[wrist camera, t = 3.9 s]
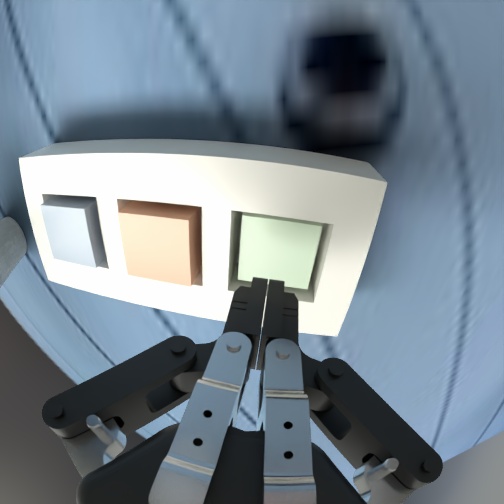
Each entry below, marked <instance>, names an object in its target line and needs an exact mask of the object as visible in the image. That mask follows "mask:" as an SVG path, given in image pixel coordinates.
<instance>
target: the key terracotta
mask: <svg viewBox="0 0 504 504" xmlns="http://www.w3.org/2000/svg"><path fill="white" fill-rule="evenodd" d="M201 217H202V207H199V206H190V205H181V204H171V203H161V202H150V201H139V200H132V201H131V202H130V203H129V204H127V205H126V206H125V207H124V208H122V209H121V210H120V211H119V212H118V219H119V226H120V233H121V240H122V246H123V252H124V257H125V263H126V268H127V273H128V275H131V276H136V277H141V278H146V279H152V280H157V281H162V282H168V283H173V284H179V285H184V286H190V287H191V286H192V284H193V282H194V280H195V278H196V276H197V274H198V272H199V270H200V268H201V266H202V226H201Z"/></svg>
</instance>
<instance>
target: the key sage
mask: <svg viewBox="0 0 504 504" xmlns="http://www.w3.org/2000/svg"><path fill="white" fill-rule="evenodd" d="M321 228H322V224H321V223H320V222H314V221H307V220H300V219H293V218H286V217H279V216H272V215H265V214H257V213H249V212H243V214H242V224H241V238H240V252H239V267H238V280H244V281H251V282H252V279H253V277H258V278H266V279H268V284H269V279H273V280H281V281H285V285H284V286H286V287H293V288H301V289H308V285H309V281H310V277H311V273H312V268H313V264H314V260H315V256H316V251H317V247H318V242H319V238H320V233H321Z"/></svg>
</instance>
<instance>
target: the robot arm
mask: <svg viewBox="0 0 504 504" xmlns="http://www.w3.org/2000/svg"><path fill="white" fill-rule="evenodd" d="M267 284H268V279H266V278H258V277H253V279H252V284H251V287H245V286H240V287H239V288H238V289H237V290H236V291H235V292H234V294H233V298H232V302H231V305H230V309H229V313H228V316H227V320H226V324H225V327H224V331H223V334H222V335H221V336H220V337H219V338H218V339H217V340H215V341H213V342H211V343H206V344H195V343H194V342H193V341H192V340H191V339H190V338H188V337H185V336H173V337H170V338H168V339H166V340H164V341H162V342H161V343H159V344H157V345H155V346H153V347H151V348H149V349H147V350H146V351H144V352H142V353H140V354H138V355H136V356H134V357H132V358H130V359H128V360H126V361H124V362H123V363H121V364H119V365H117V366H115V367H113V368H111V369H109V370H107V371H105V372H103V373H101V374H99V375H97V376H95V377H93V378H91V379H89V380H87V381H85V382H83V383H81V384H79V385H77V386H75V387H73V388H71V389H69V390H67V391H65V392H63V393H60V394H58V395H57V396H54V397H52V398H50V399H49V400H48V401H47V402H46V403H45V404H44V406H43V409H42V417H43V420H44V422H45V423H46V424H47V425H48V426H49V427H50V428H51V429H52V430H53V431H54V432H55V433H56V434H57V435H58V436H59V437H60V438H61V439H62V441H63V443H64V445H65V447H66V449H67V451H68V453H69V455H70V457H71V459H72V460H73V462H74V464H75V465H76V468H77V469H78V471H79V473H80V475H81V476H82V478H83V479H82V480H81V482H80V483H79V485H78V488H77V492H76V502H77V504H402V503H403V502H404V501H405V500H406V498H408V497H409V496H410V495H411V494H412V493H413V491H414V490H416V489H418V488H420V487H423V486H425V485H427V484H429V483H431V482H433V481H434V480H436V479H437V478H438V477H439V476H440V474H441V471H442V468H443V463H442V459H441V457H440V456H439V454H438V453H437V452H436V451H435V450H434V449H432V448H431V447H430V446H429V445H428V444H427V443H426V442H425V441H424V440H423V439H422V438H421V437H420V436H419V435H418V434H417V433H416V432H415V431H414V430H413V429H412V428H411V427H410V426H409V425H408V424H407V423H406V422H405V421H404V420H403V419H402V418H401V417H400V416H399V415H398V414H397V413H396V412H395V411H394V410H393V409H392V408H391V407H390V406H389V405H388V404H387V403H386V402H385V401H384V400H383V399H382V398H381V397H380V396H379V395H378V394H377V393H376V392H375V391H374V390H373V389H372V388H371V387H370V386H369V385H368V384H367V383H366V382H365V381H364V380H363V379H362V378H361V377H360V376H359V375H358V374H357V373H356V372H355V371H354V370H353V369H352V368H351V367H350V366H349V365H348V364H347V363H346V362H345V361H343V360H341V359H338V358H328V359H325V360H323V361H322V362H320V361H318V360H315V359H312V358H310V357H308V356H307V355H305V354H304V353H303V352H302V351H301V349H300V347H299V344H298V323H299V318H298V316H299V311H298V310H299V301H298V299H297V297H296V296H295V294H294V293H289V292H284V285H285V281H281V280H273V279H269V285H268V292H267V298H266V291H267ZM265 298H266V305H265ZM264 306H265V312H264ZM263 313H264V319H263ZM262 320H263V326H262ZM261 327H262V333H261ZM260 334H261V341H260ZM259 341H260V348H259V355H258V362H257V369H256V370H261V374H260V381H259V386H258V408H257V424H256V431H243V430H240V429H238V428H235V426H236V421H237V417H238V413H239V410H240V406H241V402H242V399H243V395H244V391H245V388H246V383H247V381H248V379H249V374H250V369H255V365H256V359H257V353H258V347H259ZM189 398H190V400H189V402H188V405H187V407H186V410H185V412H184V415H183V417H182V420H181V422H180V423H177V424H174V425H171V426H168V427H166V428H164V429H162V430H161V431H159V432H158V433H156V434H155V435H153V436H152V437H150V438H148V439H147V440H145V441H144V442H142V443H141V444H139V445H137V446H136V447H134V448H133V449H131V450H129V451H127V452H126V453H124V454H122V455H121V456H119V457H117V458H115V457H116V456H117V455H118V454H119V453H120V452H122V451H123V449H124V448H125V446H126V436H127V435H128V434H130V433H132V432H134V431H136V430H137V429H139V428H141V427H143V426H145V425H146V424H148V423H150V422H151V421H153V420H155V419H157V418H158V417H160V416H162V415H163V414H165V413H167V412H168V411H170V410H171V409H173V408H175V407H176V406H178V405H180V404H181V403H183V402H184V401H186V400H187V399H189ZM310 418H311V419H312V420H313V421H314V423H315V424H316V425H317V426H318V427H319V428H320V430H321V431H322V432H323V433H324V434H325V435H326V437H327V438H328V439H329V440H330V441H331V442H332V443H333V445H334V446H335V447H336V448H337V449H338V450H339V451H340V453H341V454H342V455H343V456H344V457H345V458H346V459H347V460H348V461H349V462H350V464H351V465H352V466H353V467H354V468H355V469H356V471H355V473H354V476H353V481H354V484H355V486H356V488H357V489H358V492H359V493H358V492H357V491H356V490H355V489H354V487H353V486H352V485H351V484H350V483H349V482H348V480H347V479H346V478H345V477H344V476H343V474H342V473H341V472H340V471H339V470H338V468H337V467H336V466H335V465H334V463H333V462H332V461H331V460H330V458H329V457H328V456H327V455H326V453H325V452H324V451H323V450H322V449H321V448H320V447H318V446H317V445H315V444H314V443H312V442H311V429H310ZM114 458H115V459H114Z"/></svg>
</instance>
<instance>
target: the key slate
mask: <svg viewBox="0 0 504 504" xmlns="http://www.w3.org/2000/svg"><path fill="white" fill-rule="evenodd" d="M40 207H41V211H42V216H43V220H44V224H45V228H46V232H47V236H48V240H49V244H50V247H51V251H52V254H53V257H54V259H58V260H62V261H66V262H71V263H75V264H79V265H84V266H88V267H93V268H97V267H98V266H99V265H100V264H101V263H102V262H103V261H104V260H105V259H106V257H107V256H106V252H105V247H104V242H103V236H102V231H101V225H100V219H99V213H98V206H97V199H96V197H89V196H74V195H55V196H53V197H52V198H50V199H49V200H47V201H46V202H44V203H43V204H41V205H40Z"/></svg>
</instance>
